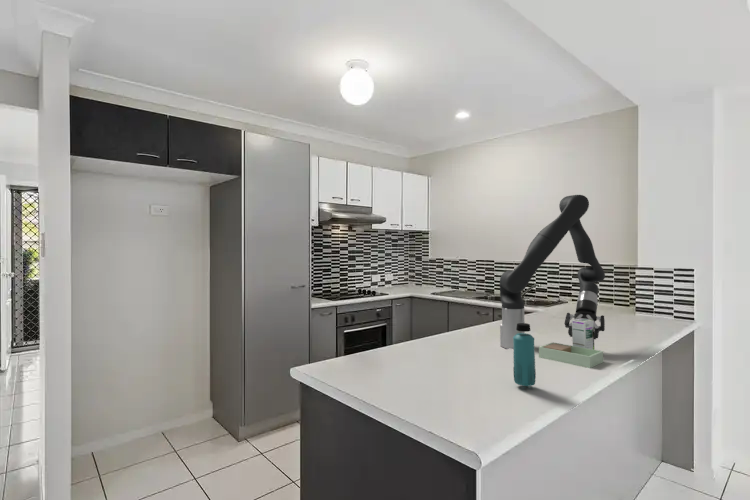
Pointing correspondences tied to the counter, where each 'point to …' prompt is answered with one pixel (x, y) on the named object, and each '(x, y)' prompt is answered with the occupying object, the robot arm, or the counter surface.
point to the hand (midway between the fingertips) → (582, 337)
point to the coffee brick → (559, 347)
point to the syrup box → (583, 333)
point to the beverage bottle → (524, 356)
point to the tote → (573, 355)
